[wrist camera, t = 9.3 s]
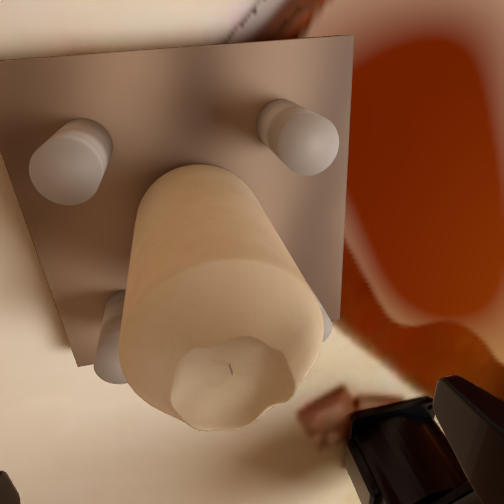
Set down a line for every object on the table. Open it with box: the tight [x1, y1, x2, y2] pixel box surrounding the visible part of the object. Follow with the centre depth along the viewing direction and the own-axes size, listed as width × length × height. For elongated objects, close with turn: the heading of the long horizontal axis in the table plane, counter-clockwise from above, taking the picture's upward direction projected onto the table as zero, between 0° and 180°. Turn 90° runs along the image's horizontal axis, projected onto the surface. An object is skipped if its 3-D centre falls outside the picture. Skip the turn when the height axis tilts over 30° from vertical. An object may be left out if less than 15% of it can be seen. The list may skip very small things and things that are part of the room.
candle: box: [119, 164, 324, 431], centre depth 14 cm, size 6×6×10 cm
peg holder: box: [0, 35, 354, 384], centre depth 17 cm, size 14×14×6 cm
